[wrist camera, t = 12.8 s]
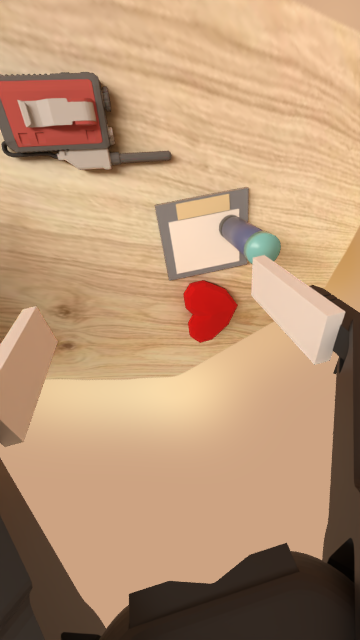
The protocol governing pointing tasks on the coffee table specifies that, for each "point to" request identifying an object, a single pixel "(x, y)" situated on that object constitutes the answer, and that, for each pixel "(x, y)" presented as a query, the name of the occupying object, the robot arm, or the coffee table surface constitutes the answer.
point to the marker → (249, 238)
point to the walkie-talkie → (61, 120)
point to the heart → (208, 309)
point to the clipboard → (200, 233)
